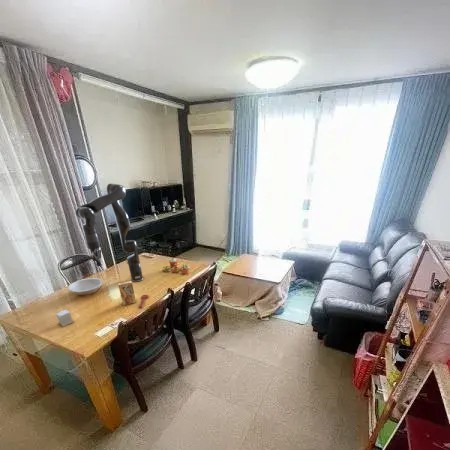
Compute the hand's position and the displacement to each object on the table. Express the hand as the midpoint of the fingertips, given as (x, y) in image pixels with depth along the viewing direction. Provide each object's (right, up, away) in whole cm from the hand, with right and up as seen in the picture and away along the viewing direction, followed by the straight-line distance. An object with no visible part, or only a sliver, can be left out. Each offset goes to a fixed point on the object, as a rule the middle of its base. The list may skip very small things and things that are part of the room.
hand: (99, 265), depth 170 cm
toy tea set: (+42, +4, +61) cm, 74 cm away
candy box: (+16, -25, +11) cm, 32 cm away
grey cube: (-16, -37, -10) cm, 42 cm away
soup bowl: (-22, -17, +26) cm, 38 cm away
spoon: (+26, -24, +12) cm, 37 cm away
